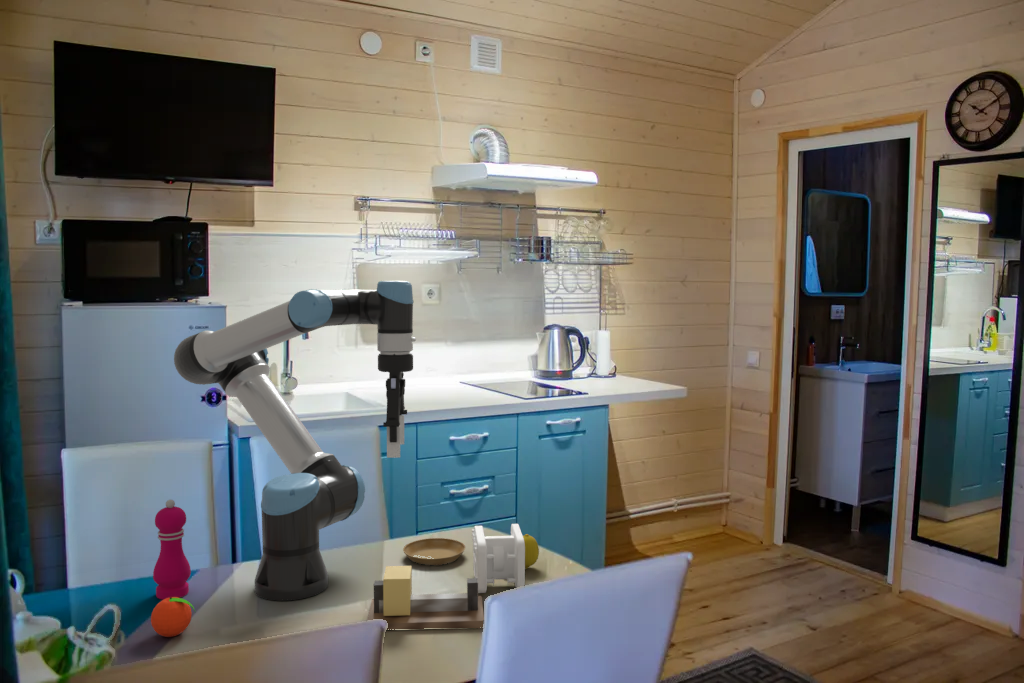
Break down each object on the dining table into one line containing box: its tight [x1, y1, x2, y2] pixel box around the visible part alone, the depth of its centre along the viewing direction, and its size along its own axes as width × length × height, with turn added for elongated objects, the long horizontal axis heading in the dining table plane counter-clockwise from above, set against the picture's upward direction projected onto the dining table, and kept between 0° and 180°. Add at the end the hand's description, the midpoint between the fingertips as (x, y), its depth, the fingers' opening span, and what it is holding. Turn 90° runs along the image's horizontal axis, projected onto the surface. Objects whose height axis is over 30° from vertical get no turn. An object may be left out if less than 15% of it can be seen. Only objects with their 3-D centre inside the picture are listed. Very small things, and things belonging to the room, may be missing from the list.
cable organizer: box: [471, 523, 526, 594], centre depth 172 cm, size 15×11×12 cm
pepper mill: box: [152, 499, 192, 600], centre depth 165 cm, size 7×7×20 cm
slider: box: [382, 565, 413, 616], centre depth 154 cm, size 5×7×7 cm
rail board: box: [366, 577, 485, 630], centre depth 155 cm, size 22×12×7 cm, turn 95°
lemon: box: [523, 533, 540, 570], centre depth 182 cm, size 6×6×8 cm
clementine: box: [150, 597, 196, 638], centre depth 146 cm, size 8×7×7 cm
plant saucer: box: [402, 537, 466, 566], centre depth 189 cm, size 15×15×3 cm
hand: (396, 450), depth 172 cm, fingers open, 13 cm apart
